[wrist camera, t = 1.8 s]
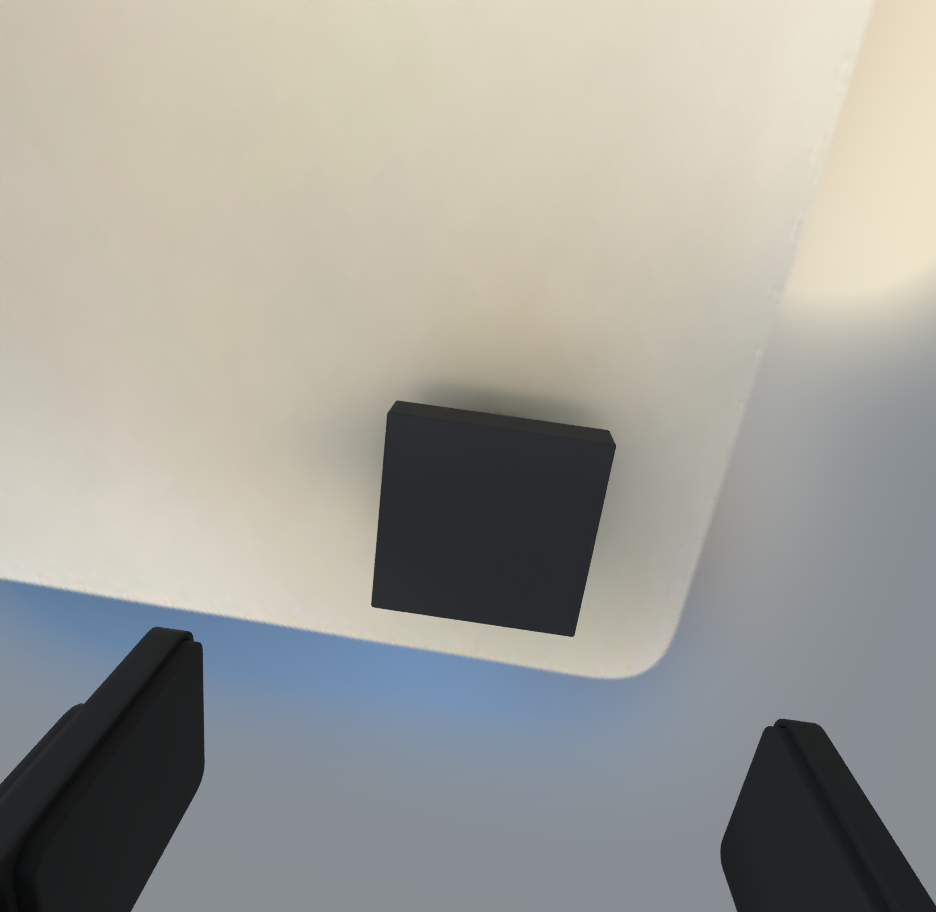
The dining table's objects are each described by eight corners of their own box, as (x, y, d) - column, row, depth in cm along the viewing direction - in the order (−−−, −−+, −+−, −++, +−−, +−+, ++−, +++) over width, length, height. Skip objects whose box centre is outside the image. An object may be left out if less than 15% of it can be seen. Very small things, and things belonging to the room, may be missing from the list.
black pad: (593, 395, 24) (616, 444, 19) (562, 552, 27) (574, 638, 21) (416, 370, 25) (387, 412, 19) (400, 529, 27) (370, 608, 21)
